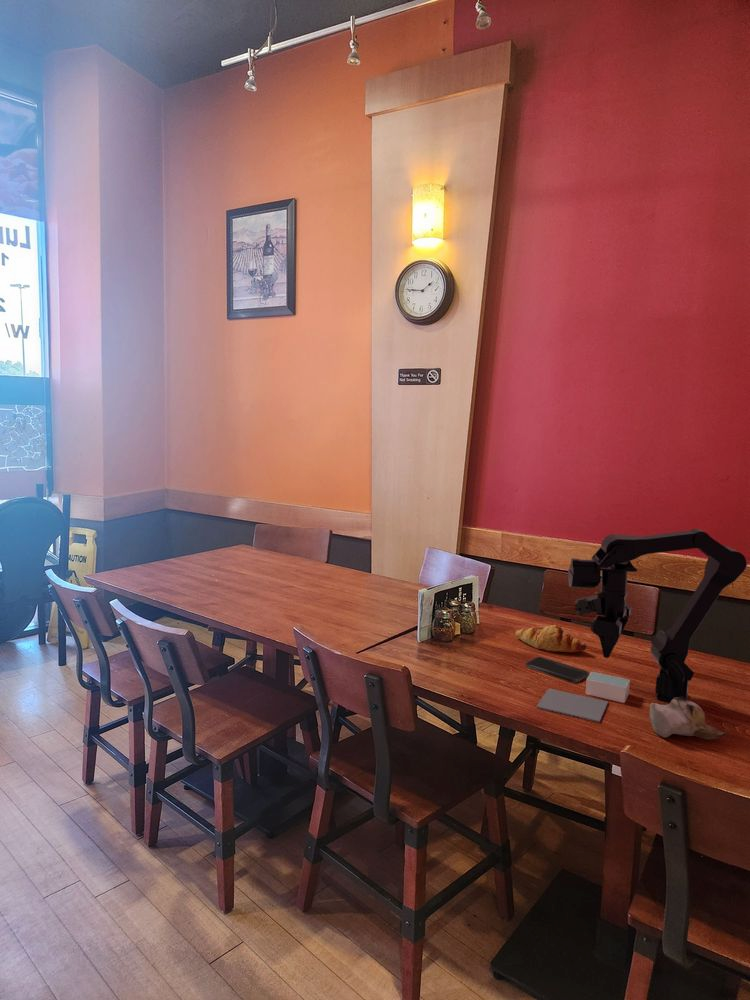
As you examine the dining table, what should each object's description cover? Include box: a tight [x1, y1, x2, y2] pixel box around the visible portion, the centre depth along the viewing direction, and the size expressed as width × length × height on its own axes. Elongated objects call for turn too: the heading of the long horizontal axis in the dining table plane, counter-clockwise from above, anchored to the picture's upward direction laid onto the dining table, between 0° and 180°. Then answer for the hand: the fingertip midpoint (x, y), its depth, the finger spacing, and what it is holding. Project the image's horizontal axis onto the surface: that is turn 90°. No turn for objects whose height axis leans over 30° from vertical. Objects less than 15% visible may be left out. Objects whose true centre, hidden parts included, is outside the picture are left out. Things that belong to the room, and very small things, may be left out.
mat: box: [536, 688, 609, 724], centre depth 153 cm, size 14×11×1 cm
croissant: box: [515, 624, 587, 653], centre depth 189 cm, size 21×10×8 cm, turn 55°
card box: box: [585, 671, 631, 704], centre depth 159 cm, size 9×6×4 cm, turn 59°
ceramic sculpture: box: [649, 696, 729, 740], centre depth 140 cm, size 11×9×15 cm
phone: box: [525, 656, 590, 684], centre depth 172 cm, size 8×1×15 cm
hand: (609, 651), depth 157 cm, fingers open, 9 cm apart
